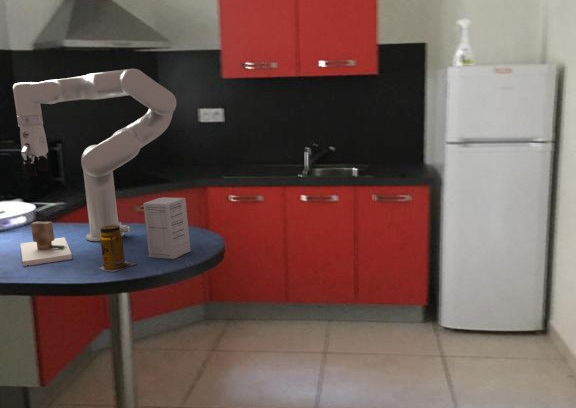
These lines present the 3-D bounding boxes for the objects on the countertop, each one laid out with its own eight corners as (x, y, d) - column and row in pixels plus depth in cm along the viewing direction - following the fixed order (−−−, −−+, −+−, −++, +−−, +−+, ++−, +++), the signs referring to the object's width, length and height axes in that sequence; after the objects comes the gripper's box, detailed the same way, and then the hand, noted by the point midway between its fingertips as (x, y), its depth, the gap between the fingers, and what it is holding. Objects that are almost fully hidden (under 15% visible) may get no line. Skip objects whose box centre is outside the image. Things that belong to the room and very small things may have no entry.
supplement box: (191, 251, 204) (187, 197, 200) (174, 259, 196) (168, 204, 192) (166, 249, 208) (161, 196, 204) (147, 257, 200) (142, 202, 196)
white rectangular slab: (20, 247, 219) (20, 242, 219) (65, 241, 224) (64, 236, 224) (23, 266, 197) (22, 260, 197) (72, 258, 202) (71, 253, 202)
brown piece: (32, 249, 209) (28, 224, 207) (40, 245, 213) (37, 220, 211) (59, 250, 206) (56, 224, 205) (67, 246, 211) (64, 221, 209)
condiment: (97, 268, 191) (92, 228, 189) (121, 261, 197) (117, 221, 195) (112, 272, 186) (107, 231, 184) (137, 264, 193) (132, 224, 190)
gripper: (30, 122, 205) (38, 177, 209) (51, 118, 222) (58, 168, 226) (6, 124, 206) (15, 178, 209) (30, 119, 223) (37, 169, 226)
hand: (37, 173), depth 218 cm, fingers open, 9 cm apart
